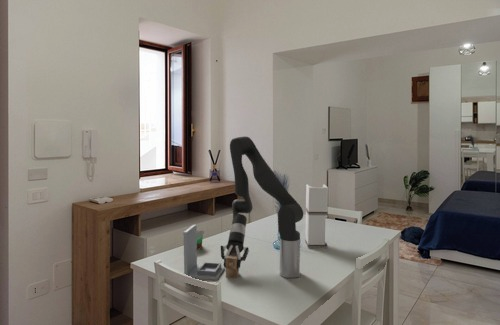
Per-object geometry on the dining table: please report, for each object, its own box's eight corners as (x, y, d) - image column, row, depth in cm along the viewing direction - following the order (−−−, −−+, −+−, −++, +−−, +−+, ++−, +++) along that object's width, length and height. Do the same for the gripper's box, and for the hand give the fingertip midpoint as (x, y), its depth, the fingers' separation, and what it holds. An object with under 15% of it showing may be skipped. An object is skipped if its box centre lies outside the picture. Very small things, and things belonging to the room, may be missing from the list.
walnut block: (238, 273, 165) (238, 254, 165) (236, 278, 160) (236, 259, 159) (228, 272, 166) (228, 254, 166) (225, 277, 161) (225, 258, 160)
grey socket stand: (224, 268, 171) (224, 226, 169) (217, 280, 158) (216, 233, 156) (194, 266, 174) (193, 224, 172) (184, 277, 161) (183, 232, 159)
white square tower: (326, 248, 201) (328, 187, 197) (308, 248, 201) (309, 187, 198) (323, 242, 212) (324, 184, 209) (305, 241, 212) (306, 184, 209)
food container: (183, 251, 196) (183, 233, 195) (182, 247, 202) (182, 230, 201) (205, 249, 199) (205, 231, 198) (204, 245, 205) (204, 228, 204)
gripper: (221, 230, 170) (214, 263, 160) (250, 231, 168) (245, 265, 157) (224, 237, 176) (217, 270, 165) (252, 239, 173) (247, 272, 163)
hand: (231, 267), depth 161 cm, fingers closed on walnut block, 5 cm apart
